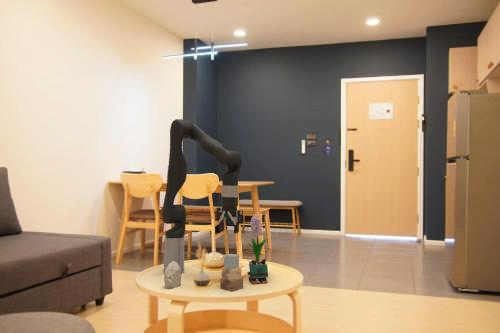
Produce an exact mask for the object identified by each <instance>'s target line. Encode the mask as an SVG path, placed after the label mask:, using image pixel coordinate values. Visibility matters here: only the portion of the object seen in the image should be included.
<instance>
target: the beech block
mask: <svg viewBox="0 0 500 333" xmlns="http://www.w3.org/2000/svg"><path fill="white" fill-rule="evenodd" d="M221 278H222V279H226V280H229V281H233V280H237V279H241V278H242V267H239V268H236V269H227V268H224V266H223V267H221Z"/></svg>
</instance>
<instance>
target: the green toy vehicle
mask: <svg viewBox="0 0 500 333" xmlns="http://www.w3.org/2000/svg"><path fill="white" fill-rule="evenodd" d="M255 260H256V259H252V260H251V261H252V262H253V264H252V265H250V269H249V271H247V275H248V276H249V277H248V281H251V284H252V285H256V284H258V281H260V282H261V284H267V283H268V279H267V278H268V277H269V272H268V264H267V262H266V261H267V259H266V258H264V259H260V260H261V262H262V264H260V265H258V264H256V262H257V261H255ZM265 262H266V263H265ZM257 278H258V279H257Z"/></svg>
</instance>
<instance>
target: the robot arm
mask: <svg viewBox="0 0 500 333" xmlns="http://www.w3.org/2000/svg"><path fill="white" fill-rule="evenodd" d="M186 139H190V140H192V141H195V142H197V143H198V144H199V146H200V148H201V149H202V150H203V151H204V152H205V153H207V154H208V155H210V156H211V157H213V158H214V159H215V160H216V161H217V162H218V164H220V165H222V166H224V167H227V170H226V171H225V172H223V173H222V177H221V178H222V181H221V184H222V185H221V192H220V193H221V197H220V198H221V200H220V205H221V206H219V207H218V206H217V207H216V211H215V212H216V214H215V220H216V221H218V222H219V227H218V228H219V231H220V232H223V231H225V221H226V220H227V219H229V220H230V219H231V221H232V222H233V233H234V234H239V232H240V225H242V224H244V211H243V209H238V206H239V175H240V171H241V169H242V163H243V157H242V155H241V153H240V151H237V150H229V149H226V146H225V145H224V144H223V143H221V142H220V141H218V140H216V139H215V138H213V137H212V136H210V135H208V134H207V133H206V132H204V130H202V129H201V128H200V127H199V126H198V125H197V124H195V122H193V121H192V120H190V119H186V118H185V119H181V118H179V119H178V118H177V119H176V118H175V119H174V120H173V121H171V124H170V128H169V154H168V155H169V156H168V157H169V158H168V166H167V176H166V184H165V185H166V188H165V195H164V199H163V204H162V211H161V219H162V221H163V223H164V224H166V225H167V224H168V225H170V224H171V225H172V224H174V225H173V227H171V228H169V229H168V230H166V231H165V235H164V238H165V241H164V242H165V243H164V252H163V272H164V273H165V269H166V268H167V267H168V265H169V264H170V263H171V262H172V261H175V262H177V263H178V264H179V267H180V271H181V274H182V273H184V272H185V233H186V224H187V223H186V222H187V210H186V207H185V206H184V204H174V203H175V200H176V196H177V195H178V193H179V191H180V190H181V189H182V187H183V186H184V184H185V183H186V181H187V177H188V176H187V174H188V163H187V160H186V158H185V154H184V151H183V142H184V141H183V140H186Z"/></svg>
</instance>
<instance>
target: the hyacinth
mask: <svg viewBox="0 0 500 333" xmlns="http://www.w3.org/2000/svg"><path fill="white" fill-rule="evenodd" d="M250 226H251V227H250V232H251V236H252V238H251V243H249V242H246V243H247V245H249V247H251V249H252V250H253V252H254V256H255V259H254V260H255V261H257V262H256V264H258V265H260V264H262V262H261V260H262V259H260V256H261V252H262V249H263V247H264V246H265V243H267V240H266V238H264V239H262V240H261V242H259V238H260V237H263V230H262V228H263V224H262V219H261V217H260V215H258V214H257V213H256V214H254V215H253V216H251V219H250ZM255 240H256V241H255ZM252 264H253V262H252V260H248V267H249V270H250V265H252ZM265 264H267V262H265ZM257 280H258V278H257Z"/></svg>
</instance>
